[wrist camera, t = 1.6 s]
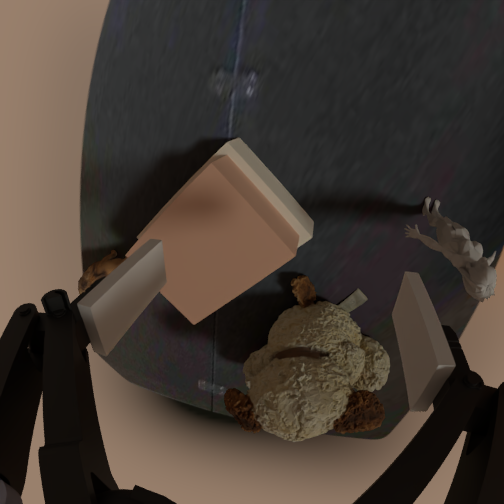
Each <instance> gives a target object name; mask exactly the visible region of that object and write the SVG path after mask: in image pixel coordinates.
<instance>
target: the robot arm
mask: <svg viewBox="0 0 504 504" xmlns="http://www.w3.org/2000/svg"><path fill="white" fill-rule="evenodd" d="M166 283H167V280H166V271H165V263H164V254H163V244H162V240H157V239H149V240H148V241H147V242H146V243H145V244H143V245H142V246H141V247H140V248H139V249H138V250H136V251H135V252H134V253H133V254H132V255H131V256H129V257H128V258H127V259H126V260H125V261H124V262H122V263H121V264H120V265H119V266H118V267H117V268H116V269H114V270H113V271H112V272H111V273H110V274H109V275H108V276H107V277H105V276H104V277H102V278H100V279H98V280H96V281H95V282H94V283H92V284H91V285H90V287H88V288H87V289H86V290H85V292H82V293H81V294H80V295H79V296H78V297H77V298H76V299H75V300H74V301H73V302H72V303H70V302H69V298H68V295H67V292H66V291H65V290H62V289H57V290H52V291H50V292H48V293H46V294H45V295H44V296H43V297H42V299H41V301H42V304H43V307H44V310H45V312H46V313H38V311H37V308H36V306H35V305H34V304H31V303H28V304H23V305H21V306H20V307H19V308H17V309H16V310H15V311H14V313H13V315H12V317H11V319H10V321H9V323H8V325H7V327H6V328H5V330H4V332H3V335H2V336H1V338H0V504H23V503H22V499H21V495H22V491H23V488H24V484H25V479H26V473H27V466H28V459H29V452H30V446H31V441H32V435H33V430H34V425H35V420H36V416H37V411H38V407H39V403H40V398H41V394H42V391H43V422H44V437H45V445H44V446H43V447H40V448H39V452H38V454H39V455H38V456H39V466H40V474H41V480H42V488H43V493H44V499H45V504H176V503H175V502H173V501H171V500H170V499H168V498H167V497H165V496H163V495H160V494H157V493H155V492H152V491H149V490H146V489H144V488H142V487H139V486H137V485H135V486H134V488H133V490H126V489H119V488H118V486H117V484H116V482H115V480H114V478H113V476H112V474H111V471H110V467H109V464H108V460H107V456H106V452H105V448H104V445H103V440H102V435H101V431H100V426H99V422H98V416H97V411H96V405H95V399H94V393H93V387H92V380H91V374H90V365H89V357H88V351H87V349H86V347H87V346H88V344H89V343H91V345H92V348H93V350H94V352H96V353H99V354H102V355H104V356H107V355H108V354H109V353H110V351H111V350H112V349H113V348H114V346H115V345H116V344H117V342H118V341H119V340H120V339H121V337H122V336H123V335H124V334H125V332H126V331H127V330H128V329H129V327H130V326H131V325H132V324H133V323H134V321H135V320H136V319H137V318H138V316H139V315H140V314H141V313H142V311H143V310H144V309H145V308H146V307H147V305H148V304H149V303H150V302H151V301H152V299H153V298H154V297H155V296H156V295H157V293H158V292H159V291H160V290H161V289H162V287H163V286H164V285H165V284H166ZM392 318H393V322H394V326H395V330H396V335H397V340H398V344H399V349H400V354H401V359H402V364H403V370H404V375H405V381H406V387H407V393H408V399H409V406H410V411H427V410H428V408H429V406H430V405H431V404H432V402H433V407H434V411H433V413H432V414H431V415H430V417H429V418H428V419H427V421H426V422H425V423H424V424H423V426H422V427H421V429H420V430H419V431H418V433H417V434H416V435H415V436H414V438H413V439H412V441H411V442H410V443H409V444H408V445H407V446H406V448H405V449H404V450H403V451H402V453H401V454H400V455H399V456H398V457H397V458H396V460H395V461H394V462H393V463H392V464H391V465H390V466H389V467H388V468H387V470H386V471H385V472H384V473H383V474H382V475H381V476H380V477H379V478H378V479H377V480H376V481H375V482H374V483H373V484H372V485H371V486H370V487H369V488H368V489H367V490H366V491H365V492H364V493H363V494H362V495H361V496H360V497H359V498H358V499H357V500H356V501H355V502H354V503H353V504H413V503H414V502H415V500H416V499H417V498H418V496H419V495H420V494H421V493H422V491H423V490H424V488H425V487H426V486H427V485H428V483H429V482H430V481H431V479H432V478H433V476H434V475H435V474H436V472H437V471H438V469H439V468H440V466H441V465H442V463H443V462H444V460H445V458H446V457H447V456H448V454H449V452H450V451H451V449H452V448H453V446H454V444H455V443H456V441H457V439H458V438H459V436H460V434H461V433H462V431H466V432H467V435H466V439H465V442H464V446H463V450H462V453H461V457H460V460H459V463H458V466H457V469H456V473H455V475H454V478H453V482H452V484H451V487H450V490H449V492H448V495H447V497H446V500H445V502H444V504H504V382H503V383H502V384H501V385H500V386H499V387H498V389H497V388H493V387H490V386H486V385H484V382H483V380H482V378H481V377H480V376H479V375H478V374H477V373H476V372H473V371H471V370H470V368H469V366H468V363H467V360H466V358H465V355H464V352H463V350H462V349H461V345H460V343H459V340H458V338H457V335H456V333H455V332H454V331H453V330H452V329H451V327H450V326H445V325H441V324H440V321H439V319H438V317H437V314H436V312H435V309H434V307H433V305H432V302H431V300H430V298H429V295H428V293H427V291H426V289H425V287H424V284H423V282H422V280H421V278H420V276H419V274H418V273H413V272H406V271H405V274H404V277H403V281H402V284H401V287H400V291H399V294H398V297H397V300H396V303H395V306H394V309H393V312H392Z"/></svg>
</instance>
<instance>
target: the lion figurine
mask: <svg viewBox="0 0 504 504" xmlns="http://www.w3.org/2000/svg"><path fill="white" fill-rule="evenodd" d="M116 256H117V252H116V251H115V250H112V251H111V254H109V255H108V256H106V257H104V258H103V259H102V260H101V261H98V262H95V263H93V264H92V265H91V266H89V267H88V269H87V270H86V271H85V273H83V275H82V277H81V278H80V280H79V281H78V282H79V283H78V290H79V294H81V293H82V292H85V290H86V289H87V288H88V287H90V285H91V284H92V283H94V282H95V281H96V280H98V279H100V278H102V277H104V276H105V277H107V276H108V275H109V274H110V273H111V272H112V271H113V270H114V269H116V268H117V267H118V266H119V265H120V264H121V263H122V262H124V261H125V260H126V259H127V257H125V258H124V259H120V258H118V259H113V258H115V257H116ZM111 259H112V260H111Z"/></svg>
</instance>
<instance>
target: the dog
mask: <svg viewBox="0 0 504 504" xmlns="http://www.w3.org/2000/svg"><path fill="white" fill-rule="evenodd" d="M291 285H292V286H294V287H293V290H292V292H293V293H294V294H295V295H294V296H295V297H296V298H297V301H298V302H299V303H298V304H300V305H295V306H294V307H292V308H289V309H287V310H285V311H284V312H283V313H282V314H281V315H279V317H278V320H277V321H275V323H274V324H273V326H272V328H271V329H270V332H269V335H268V344H267V345H265V346H263V348H261V349H260V350H257V351H255V352H253V353H251V354H250V357H249V358H248V359H247V360H246V361H245V363H244V368H243V373H245V376H246V380H245V383H246V386H248V387H249V388H250V390H247V393H248V394H246V395H244V394H243V393H242V392H241V391H239V390H237V389H236V388H233V389H228V390H227V391H226V393H225V395H224V402H225V406H227V407H226V410H227V411H228V412H229V413H230V414H232V415H233V416H234V418H235V420H238V423H239V424H240V425H241V424H242V426H241V428H242V429H244V431H248V432H251V431H253V432H254V433H256V431H257V432H259V431H260V429H261V428H262V429H263V430H265V431H267V432H269V433H273V434H275V435H276V436H278V437H281V438H283V439H284V440H285V439H286V440H289V441H291V440H292V442H297V441H303V440H304V439H306V438H311V437H314V436H318V435H320V434H324V433H326V432H327V431H328V430H331V429H333V428H334V429H335V431H336V432H341V433H342V434H343V433H345V432H349V433H353V432H358V431H360V432H361V431H363V432H364V431H365V430H366V431H369V430H373V429H374V428H377V427H380V426H381V423H382V421H383V419H384V418H385V416H384V414H385V412H384V409H383V404H380V401H379V399H378V398H376V395H375V394H374V393H371V392H372V391H374V389H375V388H376V389H377V390H379V389H381V387H382V385H384V384H385V383H386V381H387V378H388V373H389V367H390V362H389V360H390V359H389V357H388V354H387V353H386V351H385V350H383V346H381V345H379V343H378V341H375V340H373V339H371V338H370V337H367V336H366V337H365V336H364V335H361V333H360V327H359V326H357V324H356V322H353V320H352V319H351V318H349V316H350V314H349V312H350V311H352V310H354V309H356V308H357V307H358V306H360V305H361V304H363V303H364V302H365V301H367V300H368V299H367V297H366V296H365V295H364V294H363V293H362V292H361V291H360V290H359V289H357V290H356V291H355V292H354V293H353V294H351V295H350V296H349V297H348V298H346V299H345V300H344V301H343V302H341V303H340V304H339V305H338V306H337V305H335V304H332V303H330V302H327V301H323V302H321V301H318V302H317V303H316V304H314V302H313V301H314V300H316V299H315V298H316V295H315V294H316V292H315V291H314V290H315V288H314V285H313V284H312V283H311V282H310V280H309V278H308V277H307V276H306V275H303V276H301V275H300V276H298V277H297V279H296V278H294V279H293V280H292V281H291ZM353 388H356V389H357V390H358V391H357V392H355V391H354V390H353Z"/></svg>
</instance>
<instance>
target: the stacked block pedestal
mask: <svg viewBox="0 0 504 504" xmlns="http://www.w3.org/2000/svg"><path fill="white" fill-rule="evenodd" d="M313 225H314V221H313V220H312V219H311V218H310V217H309V215H308V214H307V213H306V212H305V211H304V210H303V208H302V207H301V206H300V205H299V204H298V202H297V201H296V200H295V199H294V198H293V197H292V196H291V194H290V193H289V192H288V191H287V190H286V189H285V187H284V186H283V185H282V184H281V183H280V182H279V181H278V180H277V178H276V177H275V176H274V175H273V174H272V173H271V172H270V171H269V169H268V168H267V167H266V166H265V165H264V164H263V163H262V162H261V161H260V159H259V158H258V157H257V156H256V155H255V154H254V153H253V152H252V151H251V150H250V149H249V147H248V146H247V145H246V144H245V143H244V142H243V141H242V140H241V139H240V138H236V139H234V140H231V141H228V142H227V143H226V144H224V145H223V146H222V147H221V148H220V149H219V150H218V151H217V152H216V153H215V154H214V155H213V156H212V157H211V158H210V159H209V160H208V161H207V162H206V163H205V164H204V165H203V166H202V167H201V168H200V169H199V170H198V171H197V172H196V173H195V174H194V175H193V176H192V177H191V178H190V179H189V180H188V181H187V182H186V183H185V185H184V186H183V187H182V188H181V189H180V190H179V191H178V192H177V193H176V194H175V195H174V196H173V197H172V198H171V199H170V200H169V201H168V203H167V204H166V205H165V206H164V207H163V208H162V209H161V210H160V211H159V212H158V213H157V215H156V216H155V217H154V218H153V219H152V220H151V221H150V222H149V224H148V225H147V226H146V227H145V228H144V229H143V230H142V231H141V233H140V234H139V235H138V236H137V238H138V241H137V242H136V243H135V244H134V246H133V247H132V248H131V249H130V250H129V251H128V252H127V254H126V255H125V256H126V257H127V258H128V257H129V256H131V255H132V254H133V253H134V252H135V251H136V250H138V249H139V248H140V247H141V246H142V245H143V244H145V243H146V242H147V241H148V240H149V239H157V240H162V244H163V254H164V263H165V271H166V280H167V283H166V284H165V285H164V286H163V287H162V289H161V290H160V292H161V293H162V294H163V295H164V296H165V297H166V298H167V299H168V300H169V301H170V302H171V303H172V304H173V305H174V306H175V307H176V308H177V309H178V310H179V311H180V312H181V313H182V314H183V315H184V316H185V317H186V318H187V319H188V320H189V321H190V322H191V323H192V324H193V325H195V324H196V323H198V322H199V321H201V320H202V319H204V318H205V317H207V316H208V315H210V314H211V313H213V312H214V311H216V310H217V309H219V308H220V307H222V306H223V305H225V304H226V303H228V302H229V301H231V300H232V299H234V298H235V297H237V296H238V295H240V294H241V293H243V292H244V291H246V290H247V289H249V288H250V287H252V286H253V285H254V284H256V283H257V282H259V281H260V280H262V279H263V278H265V277H266V276H268V275H269V274H270V273H272V272H273V271H275V270H276V269H278V268H279V267H281V266H282V265H283V264H285V263H286V262H288V261H289V260H291V259H292V258H294V257H295V256H296V252H297V248H298V247H300V246H301V245H302V244H304V243H305V242H307V241H308V240H309V239H311V238H312V235H313Z"/></svg>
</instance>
